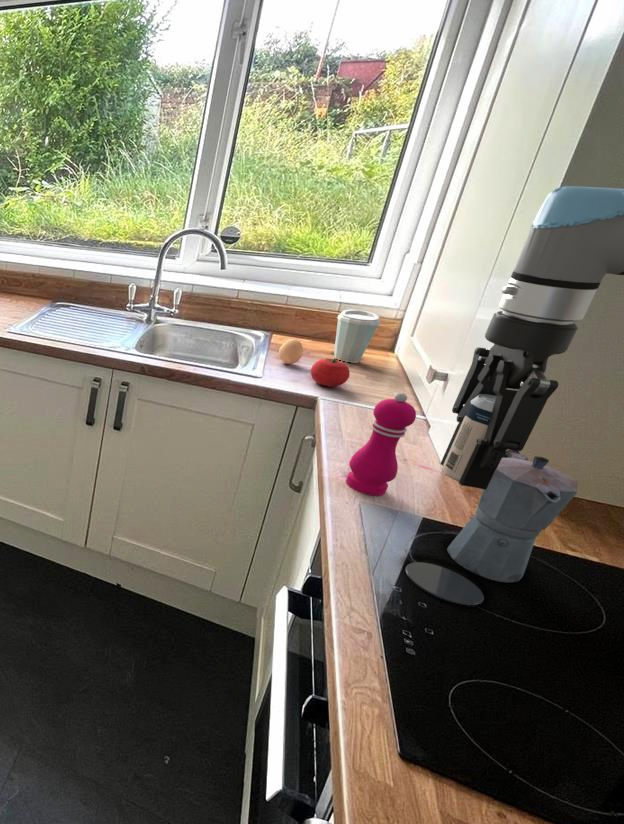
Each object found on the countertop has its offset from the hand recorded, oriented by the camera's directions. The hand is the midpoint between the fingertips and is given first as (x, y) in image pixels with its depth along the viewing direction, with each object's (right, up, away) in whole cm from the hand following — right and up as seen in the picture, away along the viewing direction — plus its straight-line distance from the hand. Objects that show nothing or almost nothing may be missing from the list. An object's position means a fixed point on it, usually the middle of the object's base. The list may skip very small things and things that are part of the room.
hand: (462, 475), depth 81 cm
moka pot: (+14, -16, +11) cm, 24 cm away
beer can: (0, 0, 0) cm, 1 cm away
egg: (+38, +18, +95) cm, 104 cm away
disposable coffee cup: (+60, +20, +100) cm, 118 cm away
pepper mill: (+11, -8, +31) cm, 34 cm away
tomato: (+39, +12, +80) cm, 89 cm away
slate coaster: (+3, -17, +6) cm, 19 cm away
